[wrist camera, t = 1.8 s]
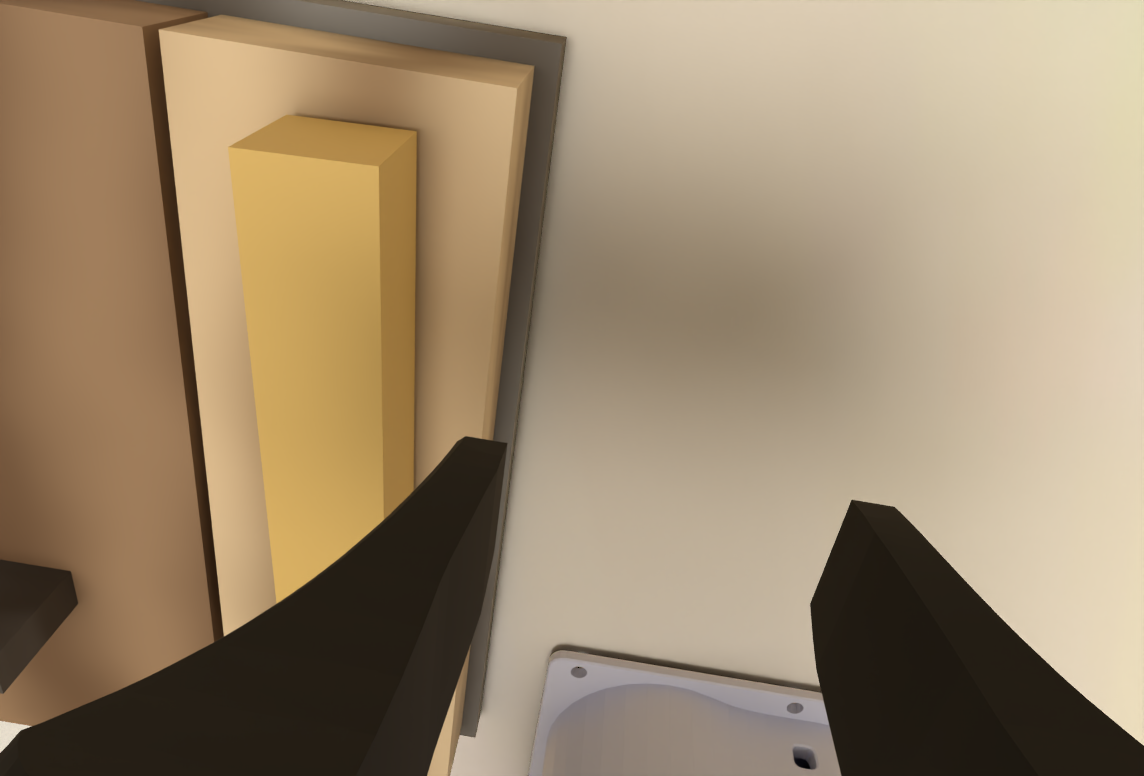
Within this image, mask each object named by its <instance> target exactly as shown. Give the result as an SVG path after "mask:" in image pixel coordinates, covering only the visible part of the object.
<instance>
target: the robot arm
mask: <svg viewBox="0 0 1144 776" xmlns="http://www.w3.org/2000/svg"><path fill="white" fill-rule="evenodd" d="M507 444H508V443H505V442H499V441H493V440H486V439H480V438H474V437H468V436H465V437H463V438H462V439H460V440H458V441H457V442H456V443H455V445H454V446H453V447H452V449H451V450H450V451H449V452H448V453H447V455H446V456H445V457H444V458H443V459H442V461H441V462H440V463H439V464H438V465H437V466H436V467H435V469H434V470H433V471H432V472H431V473H430V474H429V475H428V476H427V477H426V478H425V479H424V481H423V482H422V483H421V484H420V485H419V486H418V487H417V488H416V489H415V490H414V491H413V492H412V493H411V494H410V495H409V496H408V497H407V498H406V499H405V500H404V501H403V502H402V503H401V504H400V505H399V506H398V507H397V508H396V509H395V510H394V511H393V512H392V513H391V514H390V515H389V516H387V517H386V518H385V519H384V520H383V521H382V522H381V523H380V524H379V525H378V526H376V527H375V528H374V529H373V530H372V531H371V532H369V533H368V534H367V535H366V536H365V537H364V538H363V539H361V540H360V541H359V542H358V543H357V544H356V545H354V546H353V547H352V548H351V549H350V550H349V551H347V552H346V553H345V554H344V555H343V556H341V557H340V558H339V559H338V560H336V561H335V562H334V563H333V564H331V565H330V566H329V567H327V568H326V569H325V570H324V571H322V572H321V573H320V574H318V575H317V576H316V577H314V578H313V579H312V580H310V581H309V582H307V583H306V584H305V585H303V586H302V587H300V588H299V589H297V590H296V591H295V592H293V593H292V594H290V595H289V596H288V597H286V598H285V599H283V600H282V601H280V602H278V603H277V604H275V605H274V606H272V607H271V608H269V609H268V610H266V611H264V612H263V613H261V614H260V615H258V616H257V617H255V618H253V619H252V620H250V621H249V622H247V623H246V624H244V625H242V626H241V627H239V628H237V629H236V630H234V631H232V632H231V633H229V634H227V635H226V636H224V637H222V638H220V639H219V640H217V641H215V642H214V643H212V644H210V645H208V646H206V647H204V648H202V649H200V650H198V651H196V652H195V653H193V654H191V655H189V656H187V657H185V658H183V659H181V660H179V661H177V662H175V663H174V664H172V665H170V666H168V667H166V668H164V669H162V670H160V671H158V672H156V673H154V674H152V675H150V676H148V677H146V678H144V679H142V680H140V681H137V682H135V683H133V684H131V685H129V686H127V687H125V688H122V689H120V690H118V691H116V692H113V693H111V694H108V695H106V696H104V697H101V698H99V699H97V700H94V701H92V702H90V703H87V704H85V705H82V706H80V707H78V708H75V709H73V710H71V711H68V712H66V713H63V714H61V715H59V716H56V717H54V718H52V719H49V720H47V721H45V722H42V723H39V724H37V725H34V726H32V727H29V728H27V729H24V730H21V731H20V732H19V733H18V734H17V735H16V737H15V738H14V739H13V740H12V741H11V742H10V743H9V745H8V746H7V747H6V748H5V749H4V750H3V751H2V752H1V753H0V776H427V774H428V771H429V768H430V764H431V761H432V757H433V754H434V751H435V748H436V745H437V742H438V739H439V736H440V733H441V730H442V727H443V724H444V721H445V718H446V715H447V712H448V710H449V707H450V704H451V701H452V698H453V695H454V692H455V689H456V686H457V683H458V680H459V677H460V674H461V671H462V668H463V665H464V662H465V659H466V657H467V654H468V651H469V648H470V645H471V642H472V639H473V636H474V633H475V630H476V627H477V624H478V621H479V618H480V615H481V611H482V606H483V602H484V597H485V593H486V588H487V584H488V579H489V574H490V570H491V565H492V560H493V556H494V551H495V542H496V534H497V526H498V518H499V510H500V501H501V493H502V485H503V477H504V468H505V460H506V452H507ZM810 607H811V619H812V631H813V643H814V651H815V660H816V669H817V674H818V678H819V683H820V688H821V692H822V693H820V692H814V691H808V690H802V689H796V688H790V687H784V686H778V685H772V684H766V683H760V682H754V681H748V680H742V679H736V678H730V677H724V676H718V675H712V674H706V673H700V672H694V671H687V670H681V669H675V668H669V667H663V666H657V665H651V664H645V663H639V662H633V661H627V660H621V659H615V658H609V657H603V656H597V655H591V654H585V653H579V652H573V651H567V650H560V651H556V652H554V653H553V654H551V656H550V658H549V662H548V668H547V673H546V679H545V684H544V690H543V695H542V701H541V706H540V711H539V717H538V722H537V728H536V733H535V739H534V744H533V750H532V755H531V761H530V766H529V772H528V776H1144V746H1143V745H1142V744H1141V743H1140V742H1138V741H1137V740H1136V739H1135V738H1133V737H1132V736H1131V735H1130V734H1129V733H1127V732H1126V731H1125V730H1124V729H1122V728H1121V727H1120V726H1119V725H1118V724H1116V723H1115V722H1114V721H1113V720H1112V719H1110V718H1109V717H1108V716H1107V715H1106V714H1104V713H1103V712H1102V711H1101V710H1100V709H1098V708H1097V707H1096V706H1095V705H1094V704H1092V703H1091V702H1090V701H1089V700H1088V699H1086V698H1085V697H1084V696H1083V695H1082V694H1081V693H1080V692H1079V691H1077V690H1076V689H1075V688H1074V687H1073V686H1072V685H1071V684H1069V683H1068V682H1067V681H1066V680H1065V679H1064V678H1063V677H1062V676H1061V675H1060V674H1058V673H1057V672H1056V671H1055V670H1054V669H1053V668H1052V667H1051V666H1050V665H1049V664H1048V663H1047V662H1046V661H1045V660H1044V659H1043V658H1041V657H1040V656H1039V655H1038V654H1037V653H1036V652H1035V651H1034V650H1033V649H1032V648H1031V647H1030V646H1029V645H1028V644H1027V643H1026V642H1025V641H1023V640H1022V639H1021V638H1020V637H1019V636H1018V635H1017V634H1016V633H1015V632H1014V631H1013V630H1012V629H1011V628H1010V627H1009V626H1008V625H1007V624H1006V623H1005V622H1004V621H1003V620H1002V619H1001V618H1000V617H999V616H998V615H997V614H996V613H995V612H994V611H993V609H992V608H991V607H990V606H989V605H988V604H987V603H986V602H985V601H984V600H983V599H982V598H981V597H980V596H979V595H978V594H977V593H976V592H975V591H974V590H973V589H972V588H971V587H970V586H969V584H968V583H967V582H966V581H965V580H964V579H963V578H962V577H961V576H960V575H959V574H958V573H957V572H956V571H955V570H954V568H953V567H952V566H951V565H950V564H949V563H948V562H947V561H946V560H945V559H944V558H943V557H942V556H941V555H940V553H939V552H938V551H937V550H936V549H935V548H934V547H933V546H932V545H931V544H930V543H929V542H928V541H927V539H926V538H925V537H924V536H923V535H922V534H921V533H920V532H919V531H918V530H917V529H916V528H915V527H914V526H913V525H912V524H911V523H910V522H909V521H908V520H907V519H906V518H905V517H904V516H903V515H902V514H901V513H900V512H899V511H898V510H897V509H896V508H895V507H892V506H886V505H880V504H874V503H868V502H862V501H856V500H851V503H850V505H849V508H848V510H847V513H846V515H845V518H844V521H843V523H842V526H841V528H840V531H839V533H838V536H837V538H836V541H835V543H834V546H833V548H832V551H831V553H830V556H829V558H828V561H827V563H826V566H825V568H824V571H823V573H822V576H821V578H820V581H819V583H818V586H817V588H816V591H815V593H814V596H813V598H812V601H811V603H810ZM577 667H582V668H577Z"/></svg>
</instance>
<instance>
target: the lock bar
mask: <svg viewBox="0 0 1144 776" xmlns="http://www.w3.org/2000/svg"><path fill="white" fill-rule="evenodd" d="M228 153H229V162H230V172H231V181H232V191H233V200H234V209H235V219H236V228H237V237H238V247H239V256H240V266H241V275H242V284H243V294H244V303H245V312H246V322H247V331H248V341H249V350H250V359H251V369H252V378H253V387H254V397H255V406H256V416H257V425H258V434H259V444H260V453H261V462H262V472H263V481H264V491H265V500H266V509H267V519H268V528H269V537H270V547H271V556H272V566H273V575H274V584H275V594H276V603H278V602H280V601H282V600H283V599H285V598H286V597H288V596H289V595H290V594H292V593H293V592H295V591H296V590H297V589H299V588H300V587H302V586H303V585H305V584H306V583H307V582H309V581H310V580H312V579H313V578H314V577H316V576H317V575H318V574H320V573H321V572H322V571H324V570H325V569H326V568H327V567H329V566H330V565H331V564H333V563H334V562H335V561H336V560H338V559H339V558H340V557H341V556H343V555H344V554H345V553H346V552H347V551H349V550H350V549H351V548H352V547H353V546H354V545H356V544H357V543H358V542H359V541H360V540H361V539H363V538H364V537H365V536H366V535H367V534H368V533H369V532H371V531H372V530H373V529H374V528H375V527H376V526H378V525H379V524H380V523H381V522H382V521H383V520H384V519H385V518H386V517H387V516H389V515H390V514H391V513H392V512H393V511H394V510H395V509H396V508H397V507H398V506H399V505H400V504H401V503H402V502H403V501H404V500H405V499H406V498H407V497H408V496H409V495H410V494H411V493H412V492H413V491H414V385H415V273H416V161H417V131H411V130H403V129H395V128H387V127H379V126H372V125H364V124H356V123H348V122H340V121H333V120H325V119H317V118H309V117H302V116H294V115H285V116H283V117H281V118H280V119H278V120H276V121H274V122H272V123H270V124H269V125H267V126H265V127H263V128H261V129H260V130H258V131H256V132H254V133H252V134H251V135H249V136H247V137H245V138H243V139H242V140H240V141H238V142H236V143H234V144H232V145H231V146H229V147H228Z"/></svg>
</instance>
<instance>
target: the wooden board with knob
mask: <svg viewBox="0 0 1144 776" xmlns="http://www.w3.org/2000/svg"><path fill="white" fill-rule="evenodd" d="M565 44H566V37H561V36H555V35H549V34H543V33H537V32H531V31H525V30H519V29H513V28H506V27H500V26H494V25H488V24H482V23H476V22H470V21H464V20H458V19H452V18H445V17H439V16H433V15H427V14H421V13H415V12H409V11H403V10H397V9H391V8H384V7H378V6H372V5H366V4H360V3H354V2H348V1H342V0H0V721H5V722H11V723H17V724H23V725H29V726H34V725H37V724H39V723H42V722H45V721H47V720H49V719H52V718H54V717H56V716H59V715H61V714H63V713H66V712H68V711H71V710H73V709H75V708H78V707H80V706H82V705H85V704H87V703H90V702H92V701H94V700H97V699H99V698H101V697H104V696H106V695H108V694H111V693H113V692H116V691H118V690H120V689H122V688H125V687H127V686H129V685H131V684H133V683H135V682H137V681H140V680H142V679H144V678H146V677H148V676H150V675H152V674H154V673H156V672H158V671H160V670H162V669H164V668H166V667H168V666H170V665H172V664H174V663H175V662H177V661H179V660H181V659H183V658H185V657H187V656H189V655H191V654H193V653H195V652H196V651H198V650H200V649H202V648H204V647H206V646H208V645H210V644H212V643H214V642H215V641H217V640H219V639H220V638H222V637H224V636H226V635H227V634H229V633H231V632H232V631H234V630H236V629H237V628H239V627H241V626H242V625H244V624H246V623H247V622H249V621H250V620H252V619H253V618H255V617H257V616H258V615H260V614H261V613H263V612H264V611H266V610H268V609H269V608H271V607H272V606H274V605H275V604H277V603H276V594H275V584H274V575H273V566H272V556H271V547H270V537H269V528H268V519H267V509H266V500H265V491H264V481H263V472H262V462H261V453H260V444H259V434H258V425H257V416H256V406H255V397H254V387H253V378H252V369H251V359H250V350H249V341H248V331H247V322H246V312H245V303H244V294H243V284H242V275H241V266H240V256H239V247H238V237H237V228H236V219H235V209H234V200H233V191H232V181H231V172H230V162H229V153H228V147H229V146H231V145H232V144H234V143H236V142H238V141H240V140H242V139H243V138H245V137H247V136H249V135H251V134H252V133H254V132H256V131H258V130H260V129H261V128H263V127H265V126H267V125H269V124H270V123H272V122H274V121H276V120H278V119H280V118H281V117H283V116H285V115H294V116H302V117H309V118H317V119H325V120H333V121H340V122H348V123H356V124H364V125H372V126H379V127H387V128H395V129H403V130H411V131H417V161H416V273H415V385H414V490H415V489H416V488H417V487H418V486H419V485H420V484H421V483H422V482H423V481H424V479H425V478H426V477H427V476H428V475H429V474H430V473H431V472H432V471H433V470H434V469H435V467H436V466H437V465H438V464H439V463H440V462H441V461H442V459H443V458H444V457H445V456H446V455H447V453H448V452H449V451H450V450H451V449H452V447H453V446H454V445H455V443H456V442H457V441H458V440H460V439H462V438H463V437H465V436H468V437H474V438H480V439H486V440H493V441H499V442H505V443H508V444H507V452H506V460H505V468H504V477H503V485H502V493H501V501H500V510H499V518H498V526H497V534H496V542H495V551H494V556H493V560H492V565H491V570H490V574H489V579H488V584H487V588H486V593H485V597H484V602H483V606H482V611H481V615H480V618H479V621H478V624H477V627H476V630H475V633H474V636H473V639H472V642H471V645H470V648H469V651H468V654H467V657H466V659H465V662H464V665H463V668H462V671H461V674H460V677H459V680H458V683H457V686H456V689H455V692H454V695H453V698H452V701H451V704H450V707H449V710H448V712H447V715H446V718H445V721H444V724H443V727H442V730H441V733H440V736H439V739H438V742H437V745H436V748H435V751H434V754H433V757H432V761H431V764H430V768H429V771H428V774H427V776H450V773H451V769H452V764H453V760H454V756H455V752H456V747H457V743H458V739H459V735H463V736H469V737H475V736H476V732H477V727H478V722H479V718H480V713H481V705H482V697H483V690H484V682H485V674H486V666H487V658H488V650H489V642H490V635H491V627H492V619H493V611H494V603H495V595H496V587H497V579H498V572H499V564H500V556H501V548H502V540H503V532H504V524H505V517H506V509H507V501H508V493H509V485H510V477H511V469H512V461H513V454H514V446H515V438H516V430H517V422H518V414H519V406H520V398H521V391H522V383H523V375H524V367H525V359H526V351H527V343H528V336H529V328H530V320H531V312H532V304H533V296H534V288H535V280H536V273H537V265H538V257H539V249H540V241H541V233H542V225H543V218H544V210H545V202H546V194H547V186H548V178H549V170H550V162H551V155H552V147H553V139H554V131H555V123H556V115H557V107H558V100H559V92H560V84H561V76H562V68H563V60H564V52H565Z"/></svg>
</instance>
